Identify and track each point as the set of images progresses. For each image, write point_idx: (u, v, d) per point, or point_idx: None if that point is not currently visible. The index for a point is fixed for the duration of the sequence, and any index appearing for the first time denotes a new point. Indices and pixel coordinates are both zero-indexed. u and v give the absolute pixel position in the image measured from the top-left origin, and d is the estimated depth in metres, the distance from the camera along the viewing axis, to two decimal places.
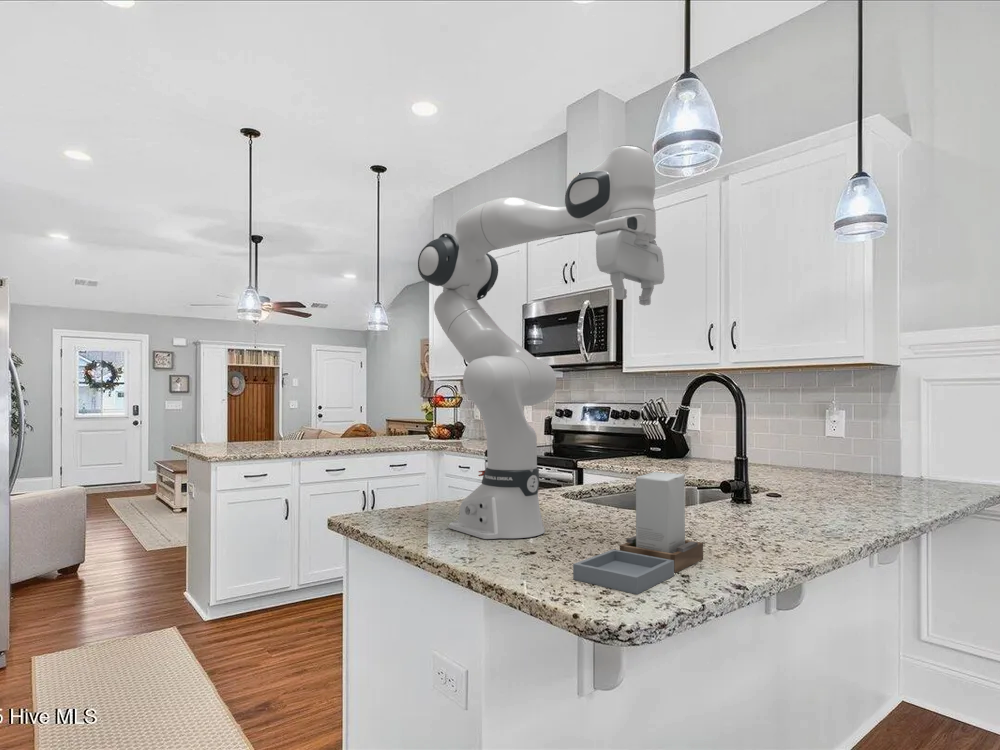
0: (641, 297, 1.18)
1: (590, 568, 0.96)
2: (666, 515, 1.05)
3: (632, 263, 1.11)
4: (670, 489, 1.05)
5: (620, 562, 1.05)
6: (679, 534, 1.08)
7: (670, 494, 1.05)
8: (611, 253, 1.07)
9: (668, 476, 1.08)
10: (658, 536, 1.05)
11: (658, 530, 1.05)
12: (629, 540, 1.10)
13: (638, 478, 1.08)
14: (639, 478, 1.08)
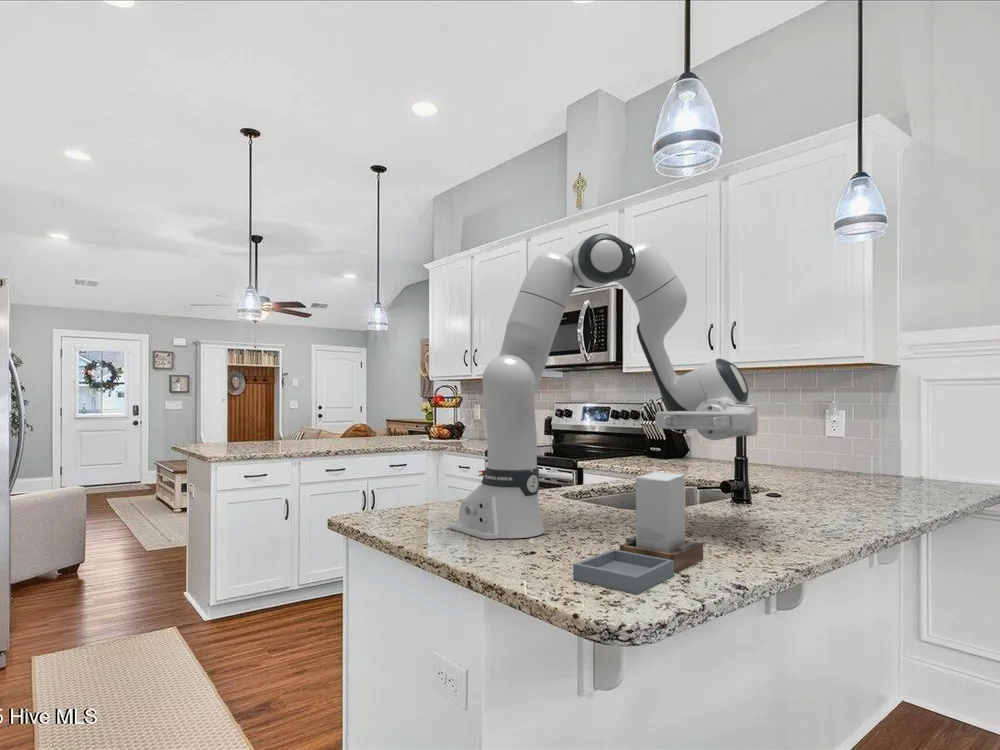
0: (673, 419, 1.23)
1: (590, 568, 0.96)
2: (666, 515, 1.05)
3: None
4: (670, 489, 1.05)
5: (620, 562, 1.05)
6: (679, 534, 1.08)
7: (670, 494, 1.05)
8: (753, 427, 1.18)
9: (668, 476, 1.08)
10: (658, 536, 1.05)
11: (658, 529, 1.05)
12: (629, 540, 1.10)
13: (638, 478, 1.08)
14: (639, 478, 1.08)
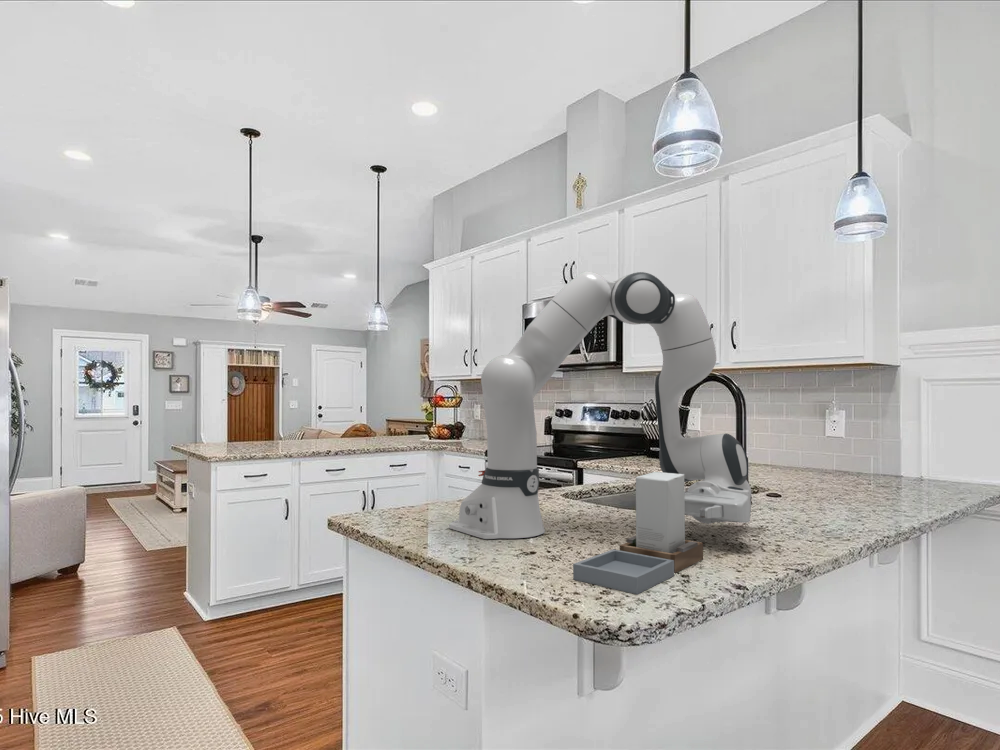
0: None
1: (590, 568, 0.96)
2: (666, 515, 1.05)
3: None
4: (670, 489, 1.05)
5: (620, 562, 1.05)
6: (679, 534, 1.08)
7: (670, 494, 1.05)
8: (746, 517, 1.14)
9: (668, 476, 1.08)
10: (658, 536, 1.05)
11: (658, 529, 1.05)
12: (629, 540, 1.10)
13: (638, 478, 1.08)
14: (639, 478, 1.08)
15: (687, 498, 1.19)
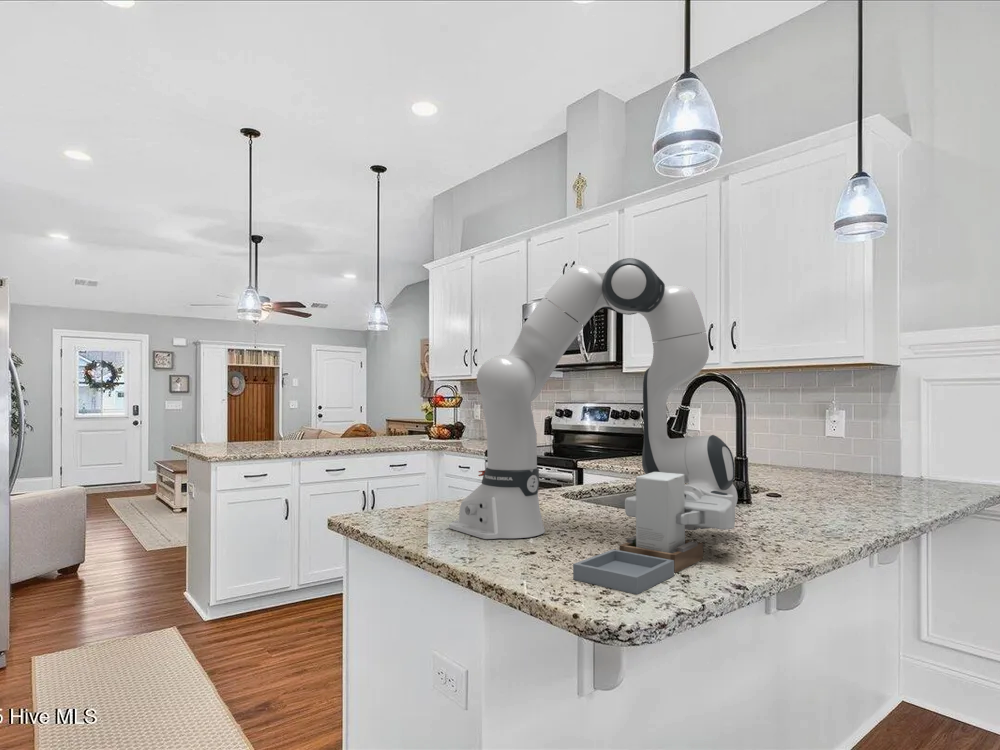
0: None
1: (590, 568, 0.96)
2: (666, 514, 1.05)
3: None
4: (670, 488, 1.05)
5: (620, 562, 1.05)
6: (679, 534, 1.08)
7: (670, 494, 1.05)
8: (729, 524, 1.08)
9: (668, 476, 1.08)
10: (658, 536, 1.05)
11: (658, 529, 1.05)
12: (629, 540, 1.10)
13: (638, 478, 1.08)
14: (639, 478, 1.08)
15: None
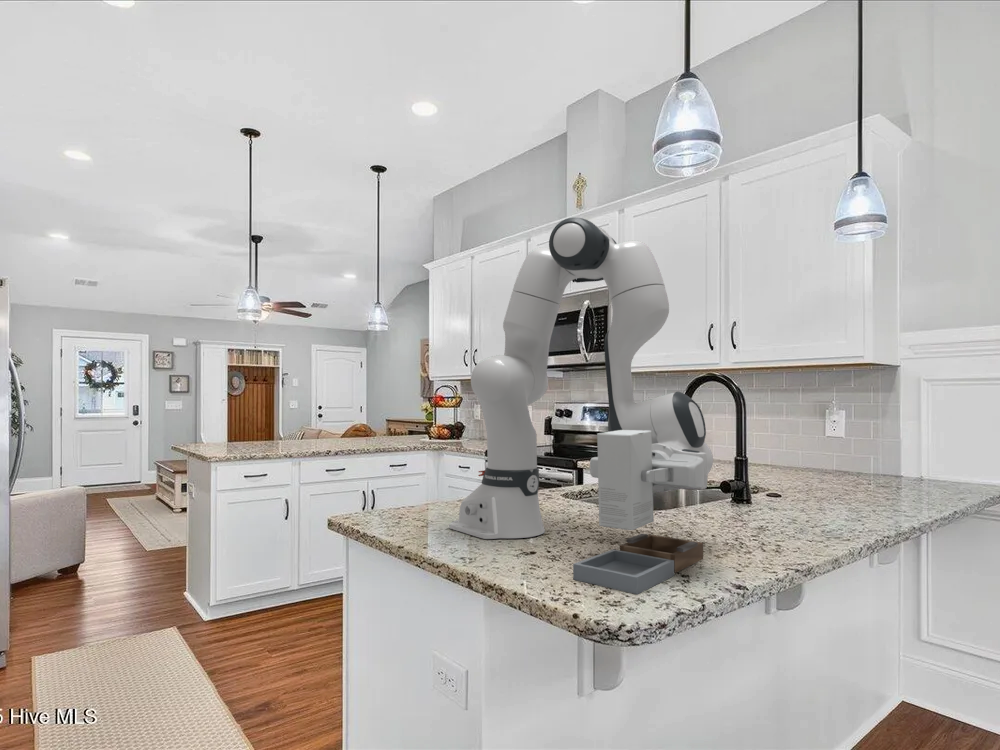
0: None
1: (590, 568, 0.96)
2: (629, 472, 0.96)
3: None
4: (633, 444, 0.96)
5: (620, 562, 1.05)
6: (645, 495, 0.99)
7: (633, 450, 0.96)
8: (699, 482, 0.99)
9: (632, 432, 0.99)
10: (621, 496, 0.96)
11: (621, 489, 0.96)
12: (629, 540, 1.10)
13: (600, 434, 0.99)
14: (601, 434, 0.99)
15: None
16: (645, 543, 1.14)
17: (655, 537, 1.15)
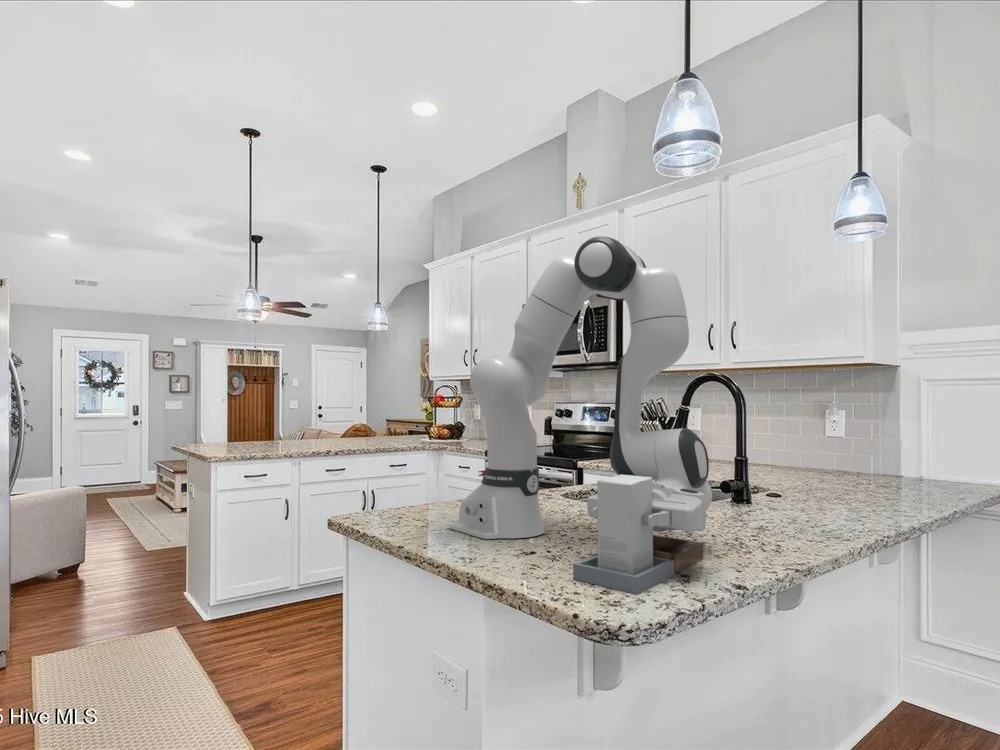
0: None
1: (590, 568, 0.96)
2: (629, 522, 0.94)
3: None
4: (633, 493, 0.95)
5: None
6: (645, 543, 0.97)
7: (633, 499, 0.95)
8: (698, 525, 0.98)
9: (633, 479, 0.98)
10: (620, 546, 0.95)
11: (621, 539, 0.95)
12: None
13: (600, 481, 0.98)
14: (601, 481, 0.98)
15: None
16: None
17: (655, 537, 1.15)
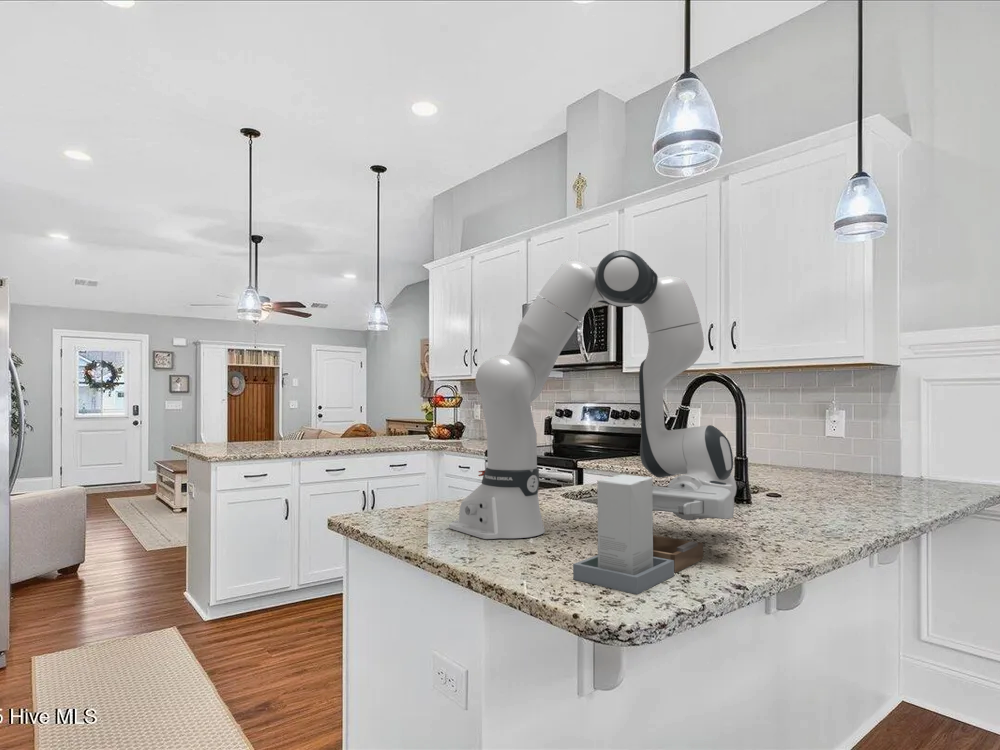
0: None
1: (590, 568, 0.96)
2: (629, 522, 0.94)
3: None
4: (633, 493, 0.95)
5: None
6: (645, 543, 0.97)
7: (633, 499, 0.95)
8: (728, 513, 1.07)
9: (633, 479, 0.98)
10: (620, 546, 0.95)
11: (621, 539, 0.95)
12: None
13: (600, 481, 0.98)
14: (601, 481, 0.98)
15: (666, 493, 1.12)
16: None
17: (655, 537, 1.15)
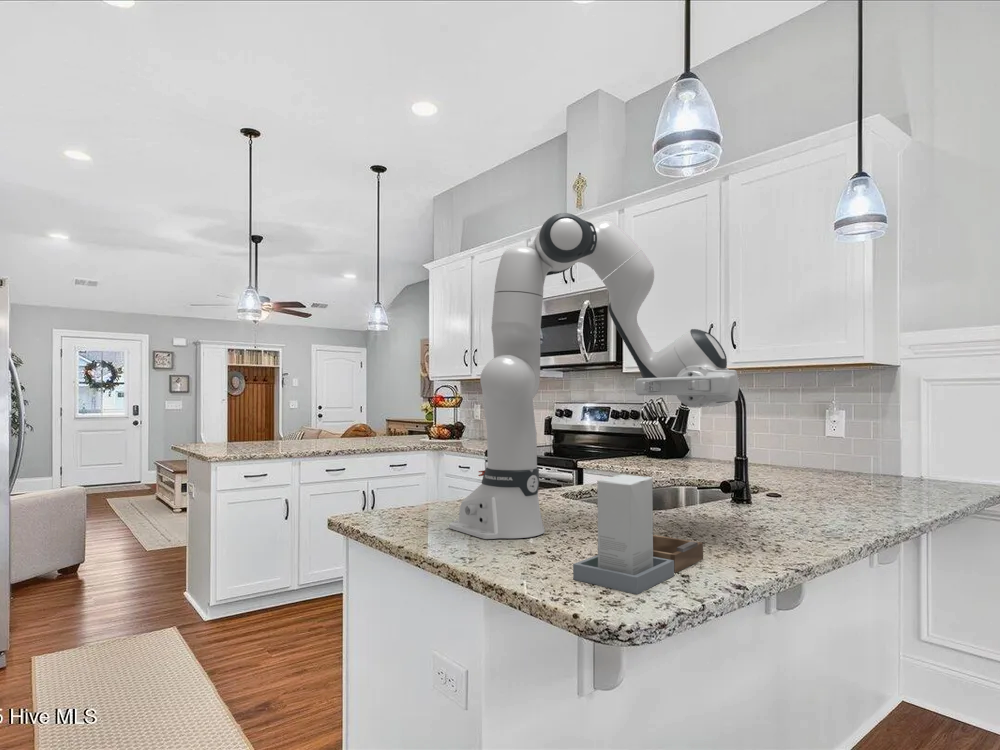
0: (652, 384, 1.21)
1: (590, 568, 0.96)
2: (629, 522, 0.94)
3: None
4: (634, 493, 0.95)
5: None
6: (645, 543, 0.97)
7: (633, 499, 0.95)
8: (733, 391, 1.16)
9: (633, 479, 0.98)
10: (620, 546, 0.95)
11: (621, 539, 0.95)
12: None
13: (600, 481, 0.98)
14: (601, 481, 0.98)
15: (675, 378, 1.21)
16: None
17: (655, 537, 1.15)
